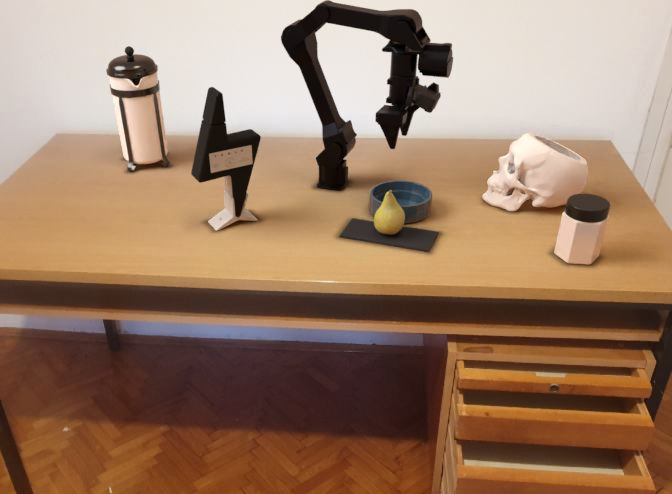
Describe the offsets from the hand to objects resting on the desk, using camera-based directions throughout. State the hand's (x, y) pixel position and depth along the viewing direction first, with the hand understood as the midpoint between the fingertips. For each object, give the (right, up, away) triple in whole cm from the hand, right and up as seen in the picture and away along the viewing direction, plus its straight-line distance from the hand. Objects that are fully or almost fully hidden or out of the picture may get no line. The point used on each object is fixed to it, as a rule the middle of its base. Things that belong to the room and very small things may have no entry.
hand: (398, 142), depth 164 cm
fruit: (-4, -23, -10) cm, 26 cm away
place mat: (-4, -23, -10) cm, 25 cm away
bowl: (0, -16, 0) cm, 16 cm away
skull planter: (+31, -14, +2) cm, 35 cm away
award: (-39, -19, -2) cm, 43 cm away
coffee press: (-66, +3, +28) cm, 72 cm away
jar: (+34, -29, -18) cm, 49 cm away
